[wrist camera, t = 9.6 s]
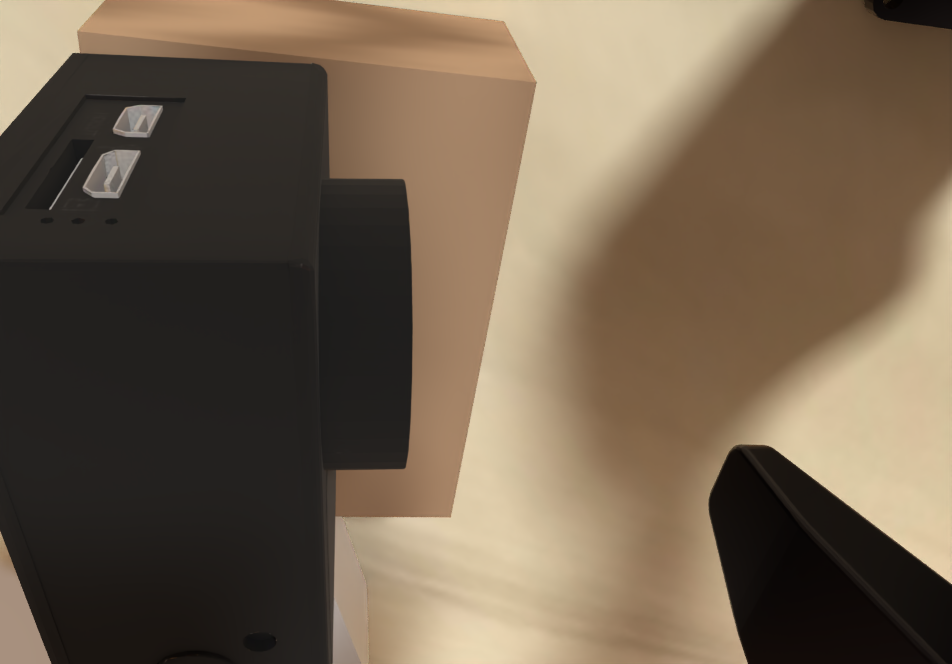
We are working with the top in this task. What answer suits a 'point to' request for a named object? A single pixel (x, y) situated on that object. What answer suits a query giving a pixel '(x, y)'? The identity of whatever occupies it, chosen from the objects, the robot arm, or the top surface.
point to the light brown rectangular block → (389, 176)
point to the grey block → (349, 602)
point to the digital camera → (191, 357)
